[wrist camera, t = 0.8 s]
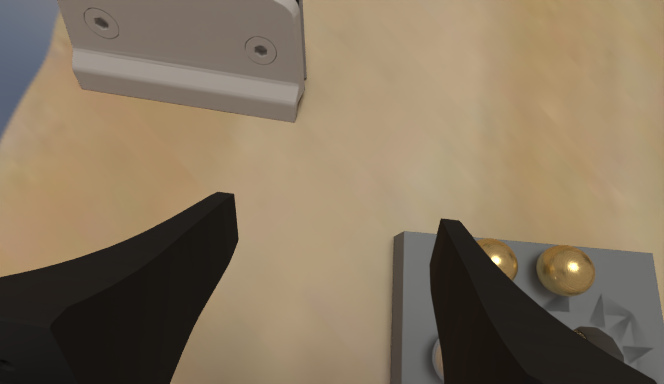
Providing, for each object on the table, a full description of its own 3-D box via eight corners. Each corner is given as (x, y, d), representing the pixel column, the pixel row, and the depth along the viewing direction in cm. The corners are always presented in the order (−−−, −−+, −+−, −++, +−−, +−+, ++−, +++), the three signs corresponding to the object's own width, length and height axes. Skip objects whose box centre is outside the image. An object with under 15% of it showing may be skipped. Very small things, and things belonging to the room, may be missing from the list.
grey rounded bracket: (76, 88, 28) (-4, -64, 20) (104, 50, 30) (44, -96, 22) (299, 123, 29) (312, -6, 21) (306, 84, 32) (320, -44, 23)
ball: (475, 384, 23) (503, 399, 20) (424, 382, 22) (445, 396, 19) (473, 329, 24) (500, 334, 21) (424, 326, 23) (444, 330, 20)
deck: (388, 475, 23) (399, 496, 21) (394, 236, 27) (404, 231, 25) (654, 484, 25) (693, 505, 22) (622, 256, 29) (652, 253, 26)
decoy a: (501, 292, 24) (531, 292, 21) (454, 288, 24) (478, 288, 21) (498, 244, 25) (527, 237, 22) (453, 240, 25) (476, 232, 22)
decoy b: (572, 298, 25) (612, 298, 22) (527, 294, 25) (560, 294, 21) (567, 250, 26) (605, 244, 23) (523, 246, 25) (555, 239, 22)
